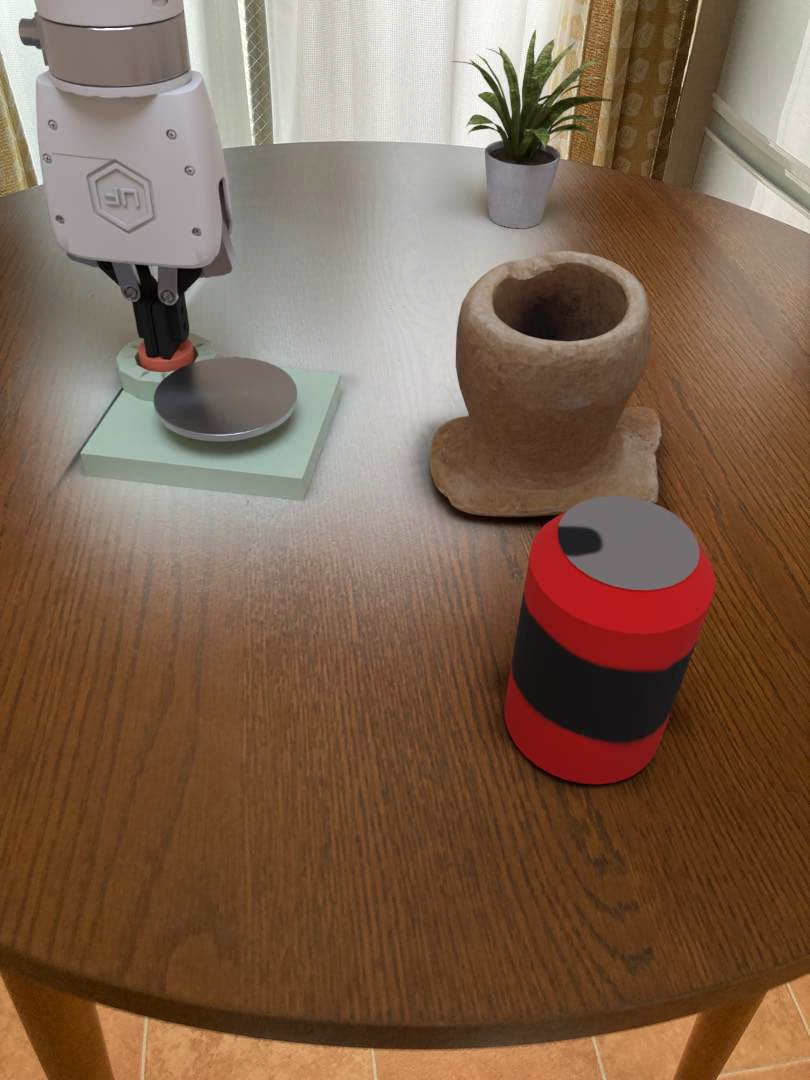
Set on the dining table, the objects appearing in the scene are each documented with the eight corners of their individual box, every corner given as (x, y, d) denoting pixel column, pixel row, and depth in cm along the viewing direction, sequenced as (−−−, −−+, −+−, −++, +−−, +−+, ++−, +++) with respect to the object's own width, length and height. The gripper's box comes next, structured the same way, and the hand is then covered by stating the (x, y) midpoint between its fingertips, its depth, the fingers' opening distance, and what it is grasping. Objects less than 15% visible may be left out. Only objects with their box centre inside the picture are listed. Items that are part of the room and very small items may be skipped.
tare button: (133, 378, 62) (129, 358, 61) (152, 350, 65) (148, 331, 63) (185, 383, 62) (182, 363, 61) (201, 356, 64) (199, 336, 63)
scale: (74, 475, 58) (62, 430, 56) (145, 370, 67) (137, 327, 65) (303, 502, 57) (301, 457, 54) (343, 391, 66) (342, 348, 64)
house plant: (486, 265, 82) (505, 66, 71) (408, 208, 91) (415, 23, 80) (611, 235, 88) (646, 46, 77) (526, 184, 96) (547, 8, 85)
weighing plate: (133, 433, 56) (131, 426, 55) (180, 356, 62) (179, 350, 62) (278, 449, 55) (277, 442, 55) (311, 370, 62) (310, 363, 61)
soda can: (492, 665, 48) (519, 483, 40) (636, 660, 48) (691, 480, 40) (516, 793, 42) (553, 611, 34) (678, 785, 43) (752, 605, 34)
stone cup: (439, 556, 54) (457, 324, 44) (422, 436, 62) (434, 220, 52) (693, 550, 55) (767, 322, 45) (641, 433, 63) (693, 221, 53)
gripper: (-48, 57, 48) (36, 366, 60) (233, 79, 46) (260, 389, 59) (17, 22, 53) (82, 311, 65) (270, 40, 52) (288, 331, 64)
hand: (166, 347), depth 62 cm, fingers closed
